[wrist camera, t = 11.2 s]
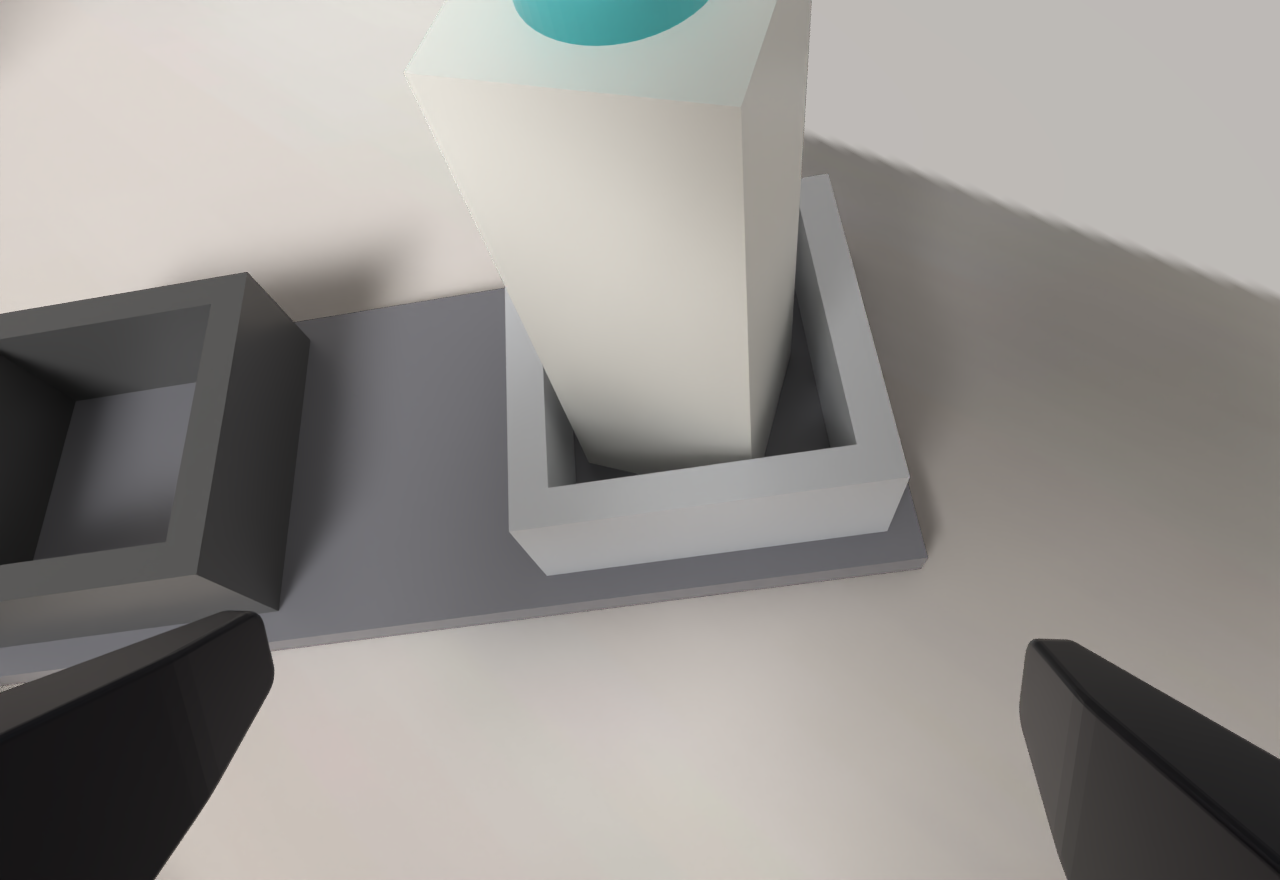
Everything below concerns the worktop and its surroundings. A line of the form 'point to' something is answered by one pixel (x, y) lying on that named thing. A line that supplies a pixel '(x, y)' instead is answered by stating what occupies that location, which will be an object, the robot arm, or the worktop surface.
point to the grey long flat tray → (401, 470)
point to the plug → (635, 204)
